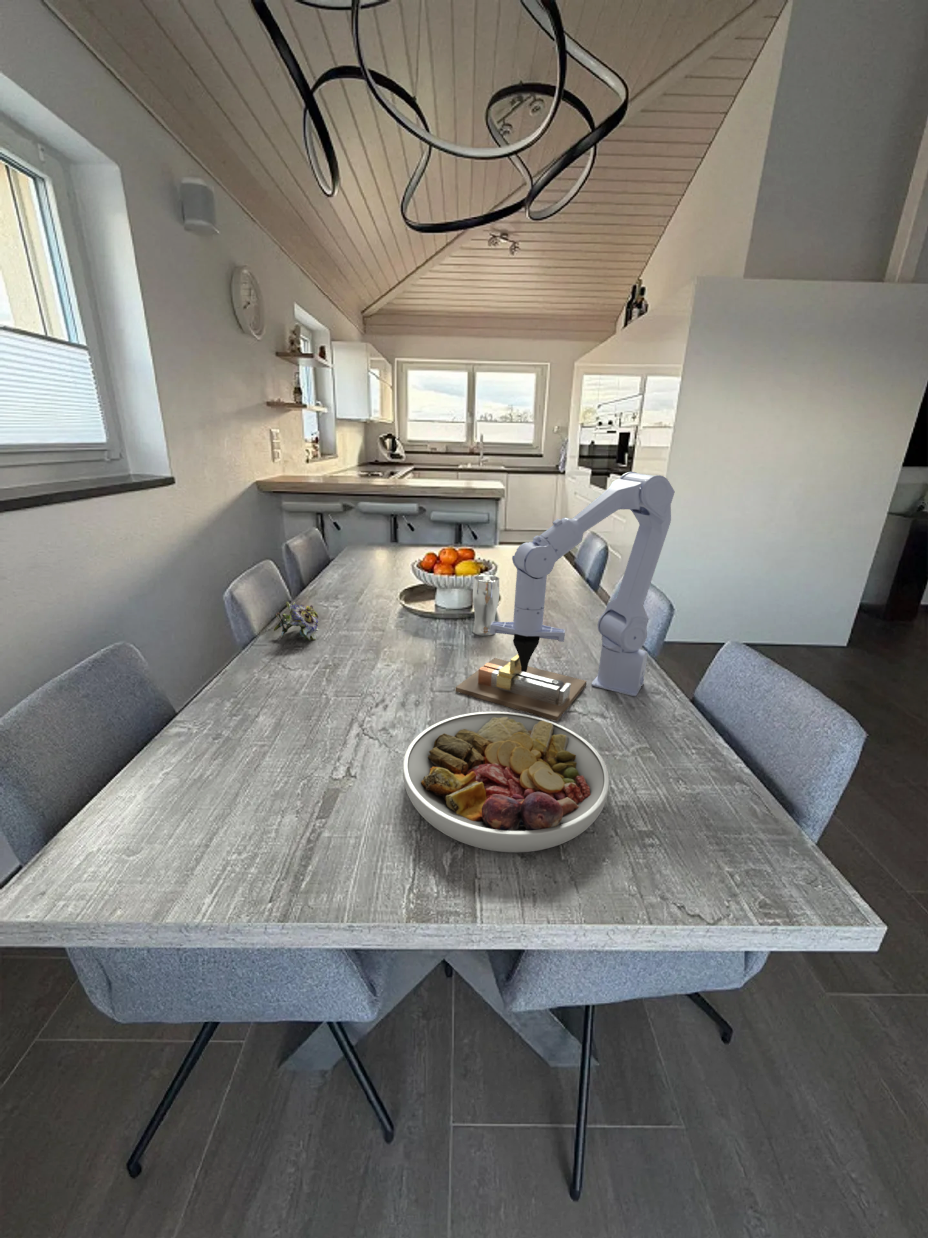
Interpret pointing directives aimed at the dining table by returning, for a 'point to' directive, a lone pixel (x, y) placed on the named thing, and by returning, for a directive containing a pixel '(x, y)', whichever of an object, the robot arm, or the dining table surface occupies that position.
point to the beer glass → (485, 603)
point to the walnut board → (519, 701)
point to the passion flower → (300, 620)
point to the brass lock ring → (508, 673)
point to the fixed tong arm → (527, 687)
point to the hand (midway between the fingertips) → (524, 669)
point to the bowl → (505, 781)
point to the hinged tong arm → (530, 676)
